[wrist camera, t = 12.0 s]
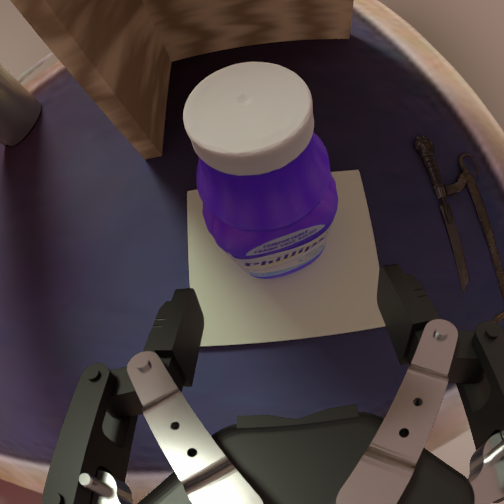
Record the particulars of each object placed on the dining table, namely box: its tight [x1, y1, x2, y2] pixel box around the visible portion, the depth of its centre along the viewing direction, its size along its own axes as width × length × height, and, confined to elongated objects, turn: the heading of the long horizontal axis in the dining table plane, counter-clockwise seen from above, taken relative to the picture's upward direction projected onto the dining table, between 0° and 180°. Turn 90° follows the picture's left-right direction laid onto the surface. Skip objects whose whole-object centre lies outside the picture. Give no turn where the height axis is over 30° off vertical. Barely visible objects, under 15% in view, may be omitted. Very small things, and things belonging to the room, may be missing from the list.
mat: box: [187, 170, 386, 346], centre depth 25 cm, size 16×14×1 cm
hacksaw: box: [414, 135, 504, 323], centre depth 22 cm, size 24×10×2 cm, turn 10°
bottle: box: [183, 62, 338, 279], centre depth 17 cm, size 7×6×17 cm
